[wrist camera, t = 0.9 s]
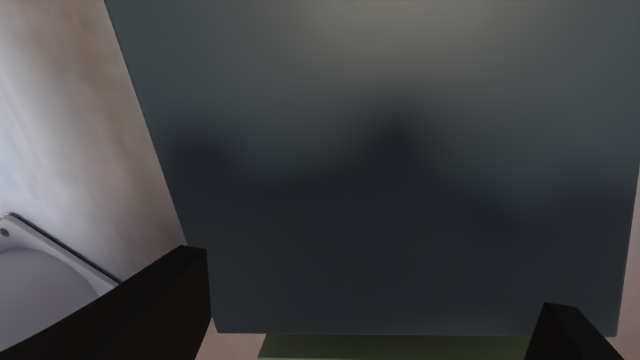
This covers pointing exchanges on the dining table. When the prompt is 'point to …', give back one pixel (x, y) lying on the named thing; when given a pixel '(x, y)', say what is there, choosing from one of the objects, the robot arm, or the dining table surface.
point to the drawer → (392, 347)
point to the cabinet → (395, 157)
